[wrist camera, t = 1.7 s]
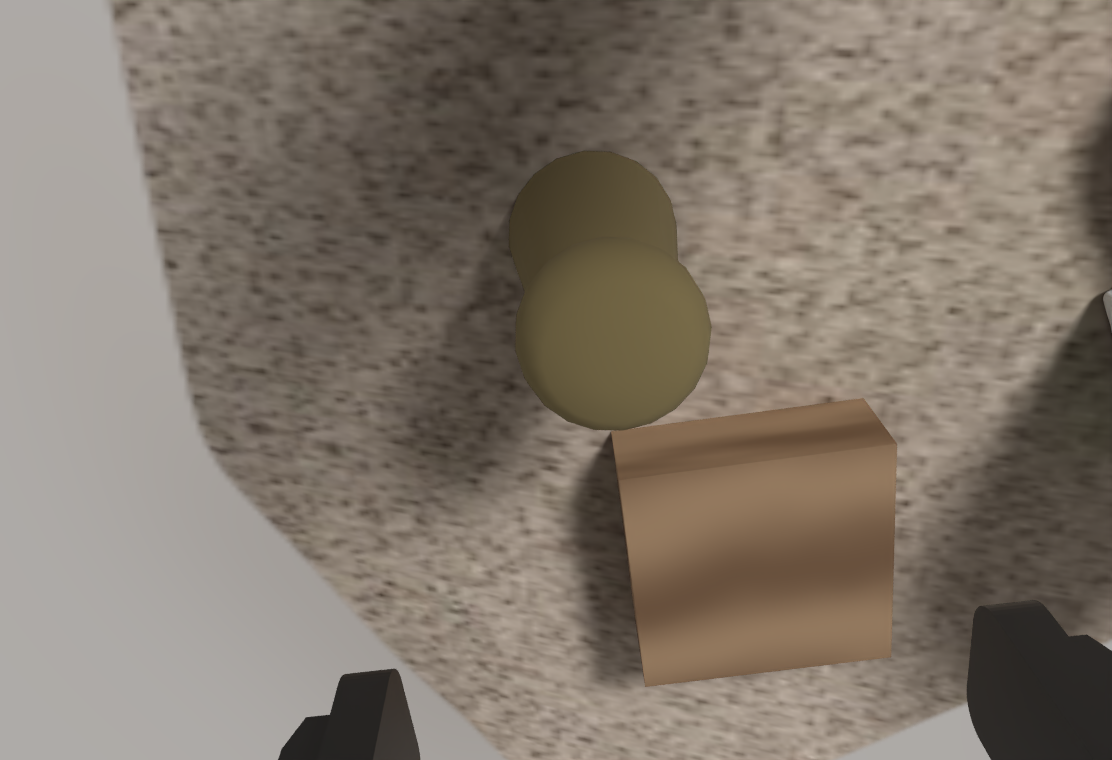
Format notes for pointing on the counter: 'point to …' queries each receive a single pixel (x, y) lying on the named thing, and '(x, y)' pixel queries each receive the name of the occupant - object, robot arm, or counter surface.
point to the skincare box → (1108, 305)
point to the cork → (604, 294)
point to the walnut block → (759, 540)
